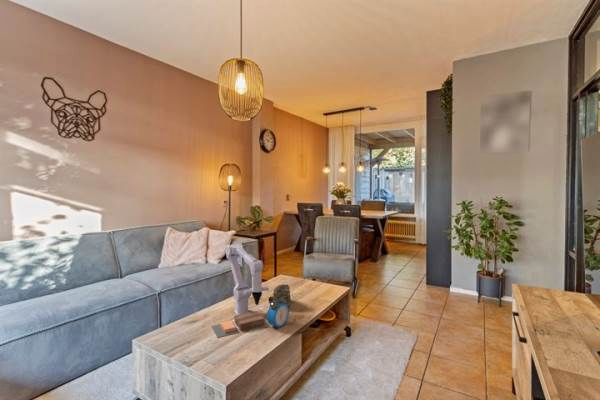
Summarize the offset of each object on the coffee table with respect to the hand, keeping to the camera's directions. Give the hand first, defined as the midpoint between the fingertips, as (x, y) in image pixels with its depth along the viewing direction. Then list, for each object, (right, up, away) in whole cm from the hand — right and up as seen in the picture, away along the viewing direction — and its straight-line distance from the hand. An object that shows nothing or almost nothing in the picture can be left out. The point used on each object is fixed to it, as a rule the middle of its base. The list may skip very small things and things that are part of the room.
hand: (256, 304), depth 173 cm
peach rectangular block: (-15, -8, -9) cm, 19 cm away
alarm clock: (+13, -11, -4) cm, 17 cm away
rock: (+12, -10, +25) cm, 30 cm away
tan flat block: (-4, -11, -3) cm, 12 cm away
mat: (-16, -11, -10) cm, 22 cm away
